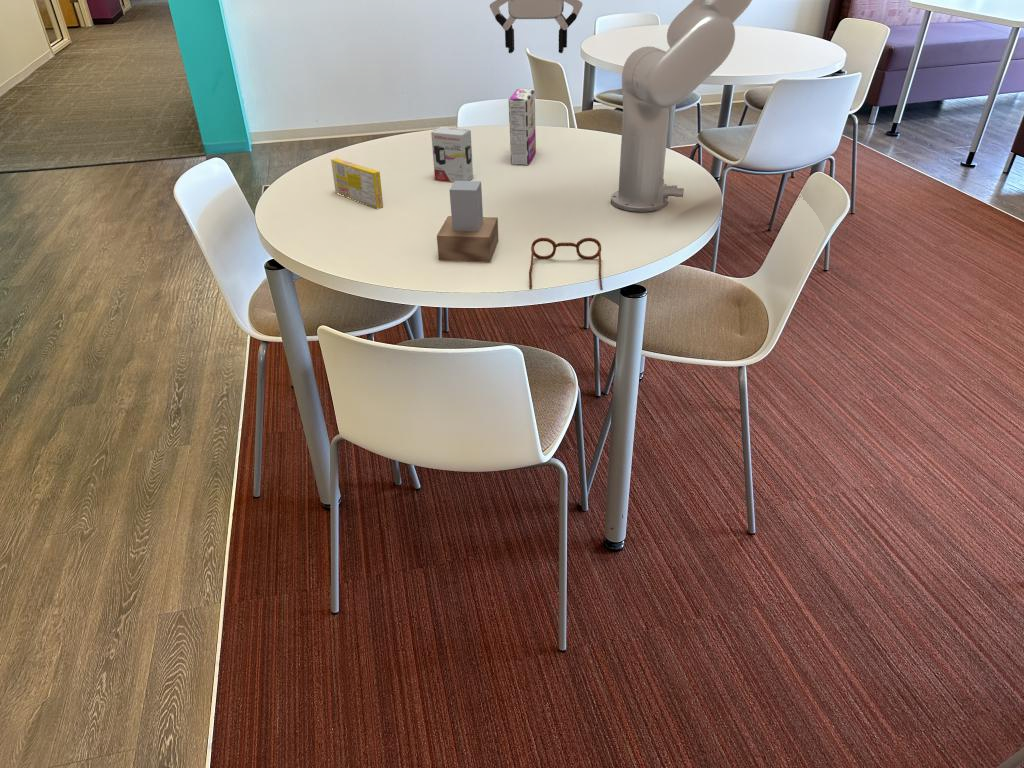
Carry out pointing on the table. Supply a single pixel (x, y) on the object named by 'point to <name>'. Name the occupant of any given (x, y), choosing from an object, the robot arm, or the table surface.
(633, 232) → the table surface
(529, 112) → the candy bar box
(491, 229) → the block
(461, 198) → the grey block
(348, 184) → the candy box
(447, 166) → the ink box
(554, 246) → the glasses
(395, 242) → the table surface
